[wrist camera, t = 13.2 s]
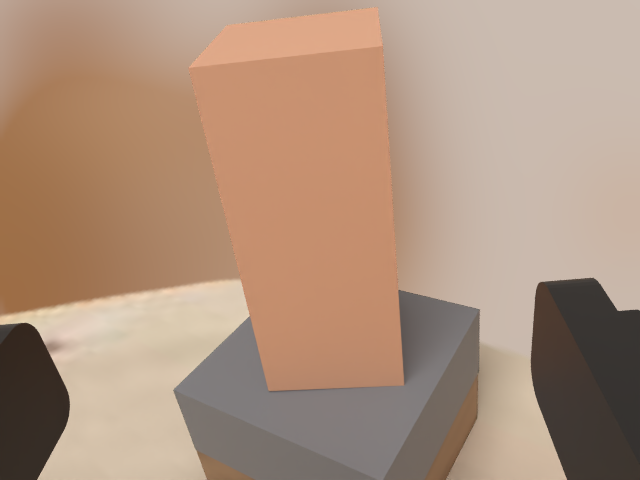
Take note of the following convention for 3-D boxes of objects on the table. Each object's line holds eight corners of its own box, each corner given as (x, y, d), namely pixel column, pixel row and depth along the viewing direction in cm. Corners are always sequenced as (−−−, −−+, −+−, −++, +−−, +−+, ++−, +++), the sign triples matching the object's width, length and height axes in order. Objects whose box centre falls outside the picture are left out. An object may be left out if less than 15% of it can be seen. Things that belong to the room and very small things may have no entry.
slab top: (195, 449, 24) (173, 390, 22) (311, 321, 30) (301, 266, 28) (390, 547, 19) (382, 481, 17) (478, 371, 25) (479, 309, 23)
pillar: (268, 391, 21) (188, 68, 15) (284, 305, 25) (226, 25, 19) (404, 385, 20) (382, 46, 14) (396, 298, 25) (377, 7, 18)
